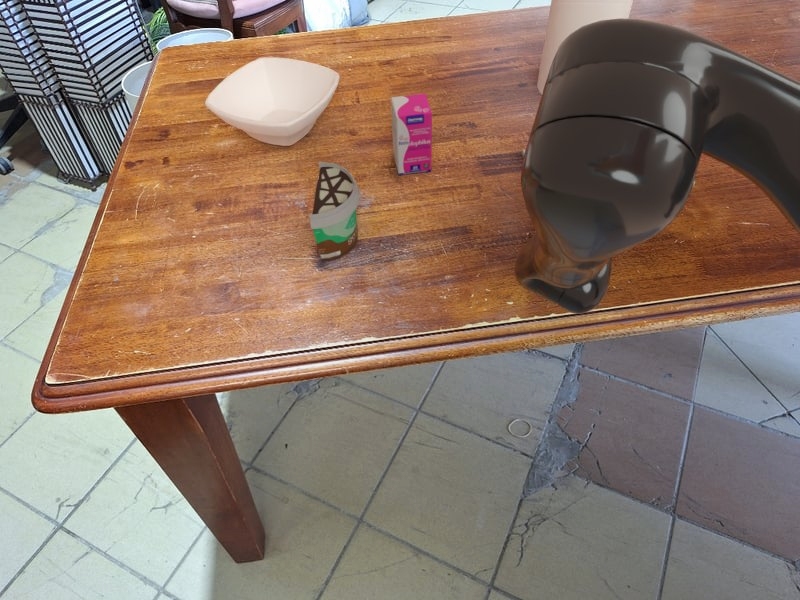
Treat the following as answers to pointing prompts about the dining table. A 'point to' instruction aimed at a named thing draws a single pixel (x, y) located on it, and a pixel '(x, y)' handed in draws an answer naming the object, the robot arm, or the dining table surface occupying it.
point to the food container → (335, 212)
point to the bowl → (274, 98)
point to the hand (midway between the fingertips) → (647, 129)
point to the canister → (575, 24)
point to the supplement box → (411, 133)
